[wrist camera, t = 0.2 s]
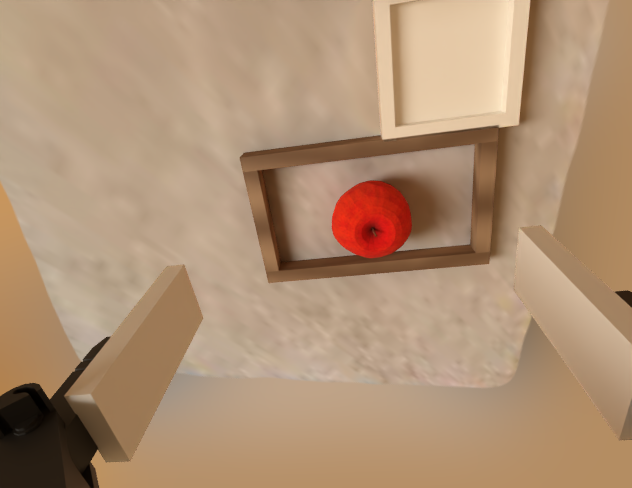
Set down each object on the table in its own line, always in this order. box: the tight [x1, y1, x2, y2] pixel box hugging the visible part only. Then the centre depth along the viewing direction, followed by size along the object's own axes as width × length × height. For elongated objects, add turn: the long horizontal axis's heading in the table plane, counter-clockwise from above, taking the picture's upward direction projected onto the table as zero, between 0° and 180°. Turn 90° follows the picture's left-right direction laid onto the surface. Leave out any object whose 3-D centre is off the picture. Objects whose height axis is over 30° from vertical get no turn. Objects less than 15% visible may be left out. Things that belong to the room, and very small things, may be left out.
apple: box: [332, 181, 412, 258], centre depth 39 cm, size 8×8×7 cm
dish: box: [372, 0, 530, 142], centre depth 35 cm, size 12×12×2 cm
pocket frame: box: [240, 125, 499, 283], centre depth 41 cm, size 15×25×2 cm, turn 98°
